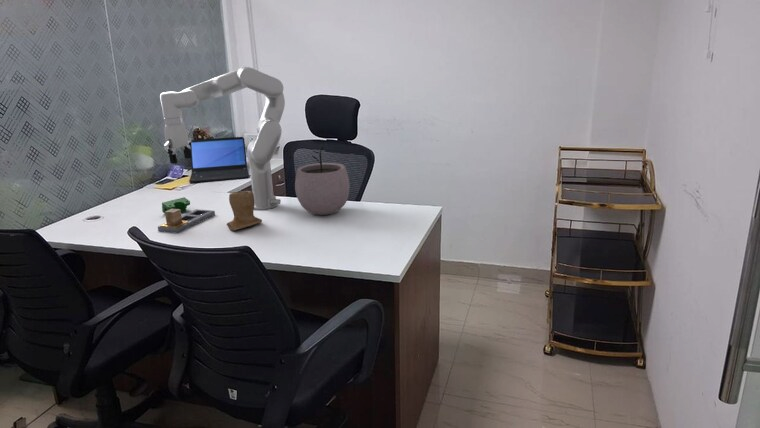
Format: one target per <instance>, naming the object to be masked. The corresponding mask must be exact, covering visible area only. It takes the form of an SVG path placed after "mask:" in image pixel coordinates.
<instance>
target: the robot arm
mask: <svg viewBox="0 0 760 428" xmlns="http://www.w3.org/2000/svg"><path fill="white" fill-rule="evenodd" d="M246 88H248V89H250V90H252V91H255V92H256V93H257V92H258V93H259V94H262V95H264V97H265V103H264V104H265V105H264V107H263V109H262V110H263V111H262V114H261V115H260V119H259V120H258V123H257V125H256V131H257V138H256V139H253V140H251V141H250V142H249V143H248V145H247V147H246V156H247V160H248V165H249V172H250V182H251V192H252V193H253V195H254V200H255V204H254V210H255V211H256V210H257V211H261V210H262V211H263V210H270V209H273V208H276V207H278V205H281V202H282V201H281V199H280V198H277V196H276V195H274V188H273V177H272V166H271V160H272V159H273V157H274V154H275V152H276V150H277V147H278V145H279V142H280V139H281V137H282V133H283V132H282V127H281V125H280V122H281V119H282V116H283V114H284V110H285V106H286V104H285V103H286V101H285V95H284V84H283V82H282V81H281V80H280V79H279V78H276V77H275V76H272V75H269V74H266V73H264V72H261V71H259V70H258V69H255V68H254V67H253V68H252V67H250V66H243V67H239V68H237V69H234V70H232V71H229V72H226V73H223V74H221V75H218V76H215V77H212V78H211V79H208V80H206V81H203V82H201V83H198V84H194V85H193V86H190V87H187V88H185V89H182V90H181V91H178V92H177V91H166V92H165V91H164V92H161V93H160V95H159V99H160V103H161V108H162V115H163V121H164V141H165V143H164V144H163V148H164V151H165V152H166V153H167V155H169V156H168V157H169V162H170V164H173V165H174V164H178V158H177V154H176V151H177V150H178V149H182V148H183V155H184V158H185V159H191V158H192V157H191V151H190V149H191V140H193V139H192V138H191V136H190V137H189V135H188V131H187V127H186V125H185V123H184V117H183V112H182V109H193V108H195V107H198V105H199V103H202V102H204V101H207V100H210V99H214V98H222V97H226V96H228V95H231V94H233V93H236V92H238V91H240V90H243V89H246Z"/></svg>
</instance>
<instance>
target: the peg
mask: <svg viewBox="0 0 760 428" xmlns="http://www.w3.org/2000/svg"><path fill="white" fill-rule="evenodd" d="M164 215H165V216H164V217H165V223H167V225H169V226H177V225H179V224H181V223H182V217H181V216H182V211H181V210H180V209H170V210H168V211H165V213H164Z"/></svg>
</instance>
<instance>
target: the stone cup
mask: <svg viewBox="0 0 760 428" xmlns="http://www.w3.org/2000/svg"><path fill="white" fill-rule="evenodd" d="M228 202H229V206H230V209H231V210H232V213H233V216H234V217H233V219H232V220H231V221H229V222H226V226H227V228H228V229H229V230H230V231H233V232H234V231H237V230H242V229H245V228H249V227H251V226H255V225H257V224H260V223H262V222H263V219H261V218H259V217H257V216H255V213H254V210H255V209H254V204H255V200H254V195H253V192H252V190H243V191H235V192H231V193H229V196H228Z"/></svg>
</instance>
